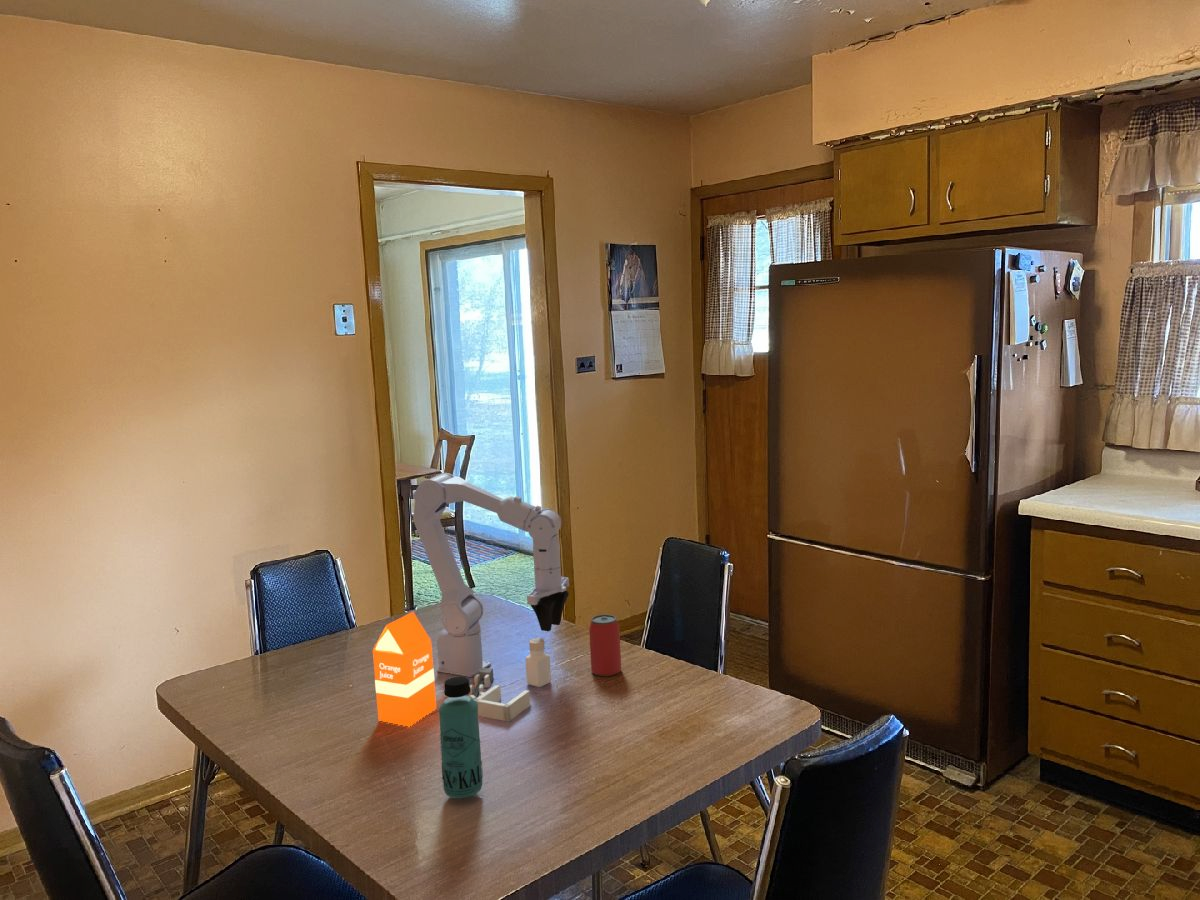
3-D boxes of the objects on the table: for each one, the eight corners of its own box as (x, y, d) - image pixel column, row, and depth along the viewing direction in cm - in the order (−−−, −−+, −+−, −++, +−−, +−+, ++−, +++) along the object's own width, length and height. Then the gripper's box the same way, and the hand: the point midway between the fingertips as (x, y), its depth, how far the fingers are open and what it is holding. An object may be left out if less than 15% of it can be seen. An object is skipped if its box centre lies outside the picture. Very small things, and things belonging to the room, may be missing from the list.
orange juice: (437, 708, 176) (429, 613, 173) (410, 727, 168) (402, 627, 165) (405, 703, 179) (397, 609, 176) (377, 721, 171) (369, 623, 168)
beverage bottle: (445, 788, 145) (436, 673, 142) (485, 785, 145) (478, 670, 142) (441, 809, 138) (432, 689, 135) (483, 806, 139) (475, 686, 136)
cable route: (469, 709, 174) (468, 698, 174) (479, 678, 190) (479, 668, 190) (484, 709, 174) (483, 697, 174) (493, 678, 190) (493, 667, 190)
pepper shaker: (538, 678, 189) (536, 636, 188) (552, 682, 186) (550, 639, 185) (525, 684, 186) (523, 641, 184) (539, 688, 183) (537, 645, 182)
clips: (465, 709, 175) (464, 699, 174) (471, 684, 187) (470, 674, 187) (487, 708, 175) (486, 697, 175) (491, 682, 188) (490, 672, 187)
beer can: (622, 665, 194) (620, 613, 192) (620, 677, 187) (617, 623, 186) (592, 665, 194) (590, 613, 193) (589, 677, 188) (587, 623, 186)
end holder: (474, 714, 172) (473, 700, 172) (497, 698, 179) (496, 685, 179) (508, 721, 168) (507, 706, 168) (530, 705, 175) (529, 690, 175)
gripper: (546, 577, 180) (549, 640, 182) (579, 559, 193) (582, 618, 194) (517, 574, 183) (520, 636, 185) (552, 556, 196) (555, 615, 198)
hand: (550, 627), depth 190 cm, fingers open, 3 cm apart
